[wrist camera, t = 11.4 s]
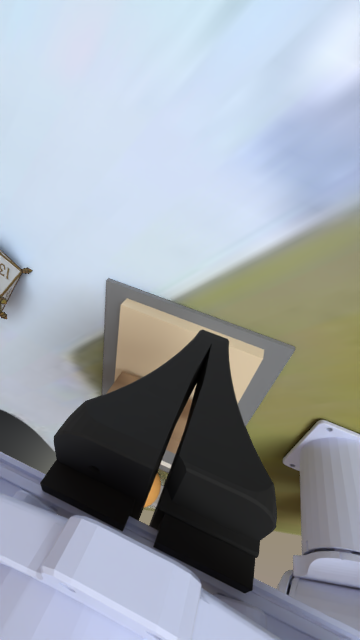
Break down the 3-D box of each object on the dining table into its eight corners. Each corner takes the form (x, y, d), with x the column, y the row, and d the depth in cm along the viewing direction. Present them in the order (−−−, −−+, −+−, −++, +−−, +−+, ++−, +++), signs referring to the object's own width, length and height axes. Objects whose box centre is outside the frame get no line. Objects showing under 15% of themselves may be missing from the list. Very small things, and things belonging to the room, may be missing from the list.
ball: (148, 520, 37) (162, 485, 41) (155, 503, 34) (169, 467, 38) (115, 504, 37) (131, 470, 41) (119, 486, 35) (136, 452, 39)
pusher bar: (221, 412, 25) (210, 455, 21) (215, 424, 26) (204, 467, 22) (122, 371, 26) (97, 405, 23) (120, 384, 27) (97, 418, 24)
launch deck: (295, 346, 21) (295, 368, 19) (193, 504, 42) (188, 523, 40) (108, 278, 23) (92, 291, 21) (100, 460, 44) (91, 476, 42)
